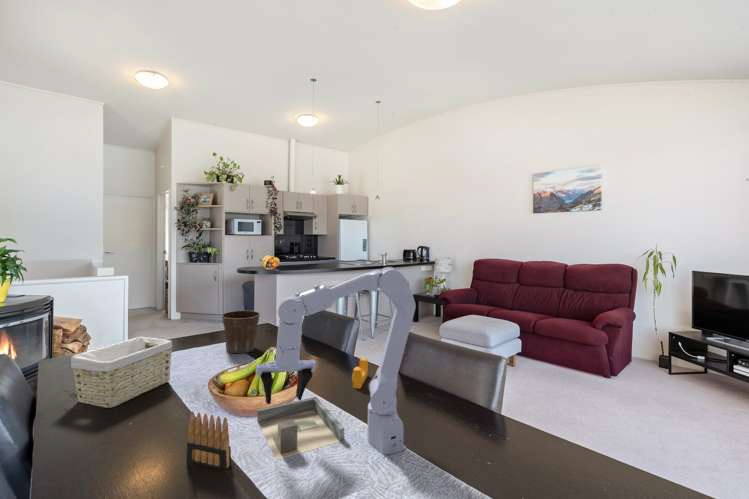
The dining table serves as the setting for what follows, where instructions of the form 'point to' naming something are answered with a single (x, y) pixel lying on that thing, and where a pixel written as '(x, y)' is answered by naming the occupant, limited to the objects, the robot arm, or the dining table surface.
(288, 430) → the bracket
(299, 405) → the tray
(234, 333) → the plant pot
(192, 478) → the dining table surface
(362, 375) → the pipe clamp
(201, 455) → the ammunition clip
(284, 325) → the robot arm
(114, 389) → the storage basket
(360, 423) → the dining table surface
